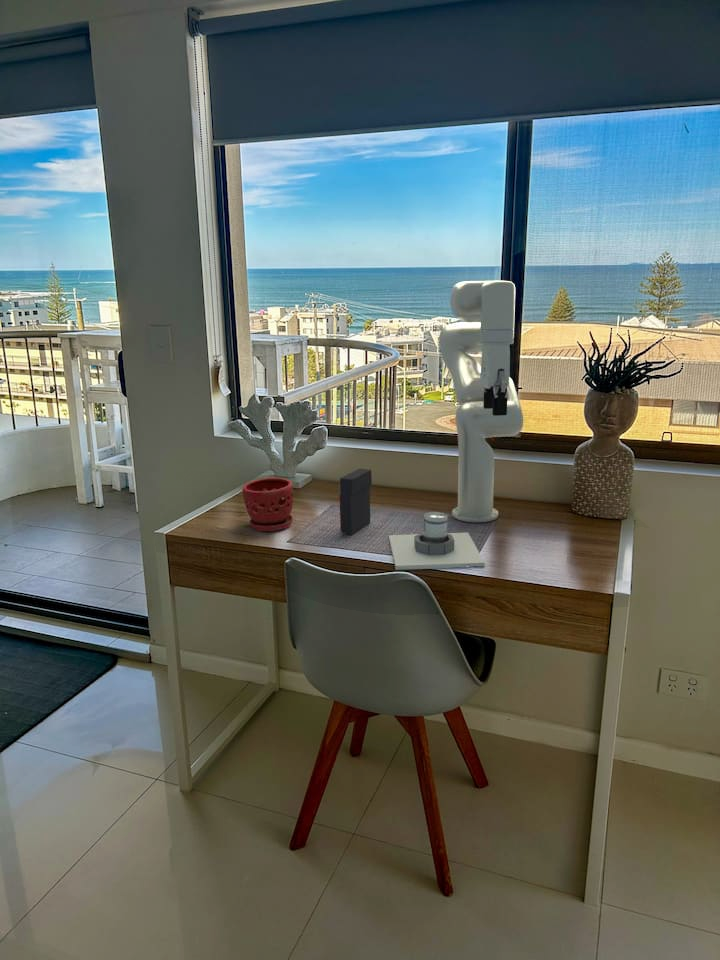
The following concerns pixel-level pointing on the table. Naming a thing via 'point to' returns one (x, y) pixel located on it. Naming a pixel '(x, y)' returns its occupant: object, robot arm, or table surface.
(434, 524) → the piston
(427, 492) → the table surface
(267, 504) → the plant pot
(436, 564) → the holder
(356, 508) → the upright black box
